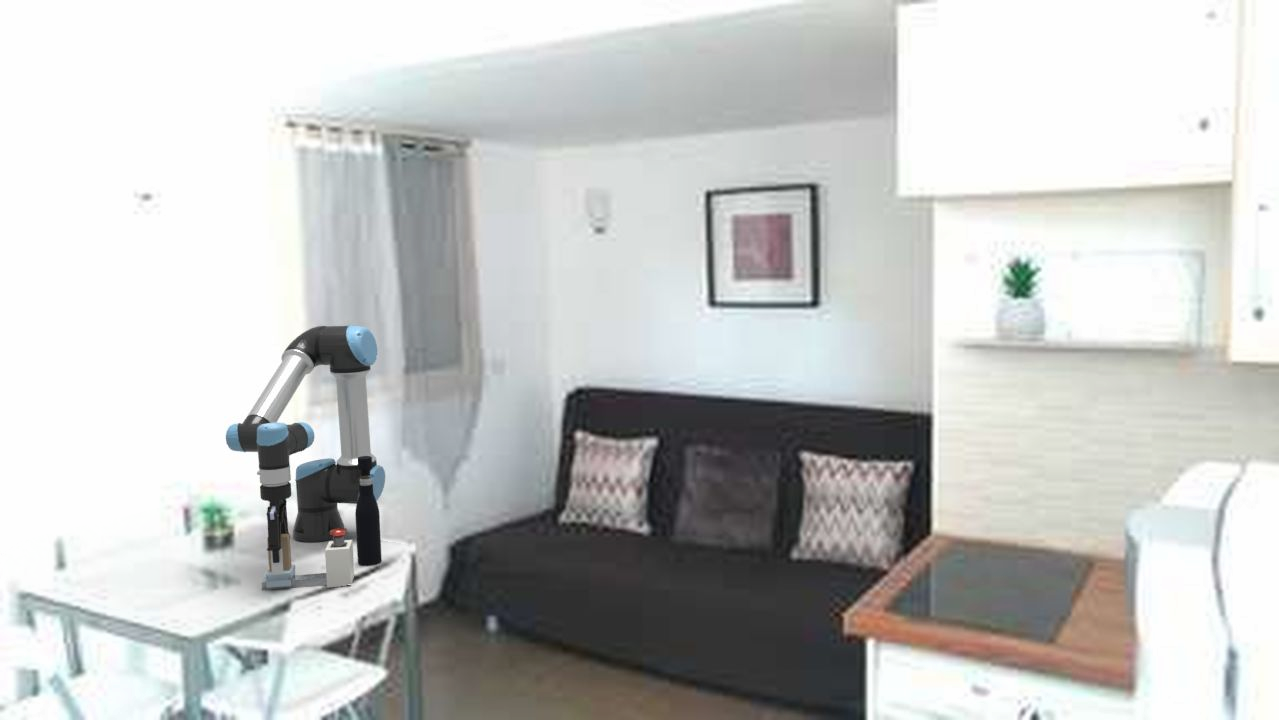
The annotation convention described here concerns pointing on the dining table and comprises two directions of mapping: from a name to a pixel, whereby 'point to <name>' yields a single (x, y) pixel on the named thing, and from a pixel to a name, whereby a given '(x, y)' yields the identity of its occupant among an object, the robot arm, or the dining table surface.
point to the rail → (302, 581)
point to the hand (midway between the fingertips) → (280, 569)
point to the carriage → (288, 569)
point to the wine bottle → (367, 518)
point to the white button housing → (339, 564)
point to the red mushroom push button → (338, 537)
